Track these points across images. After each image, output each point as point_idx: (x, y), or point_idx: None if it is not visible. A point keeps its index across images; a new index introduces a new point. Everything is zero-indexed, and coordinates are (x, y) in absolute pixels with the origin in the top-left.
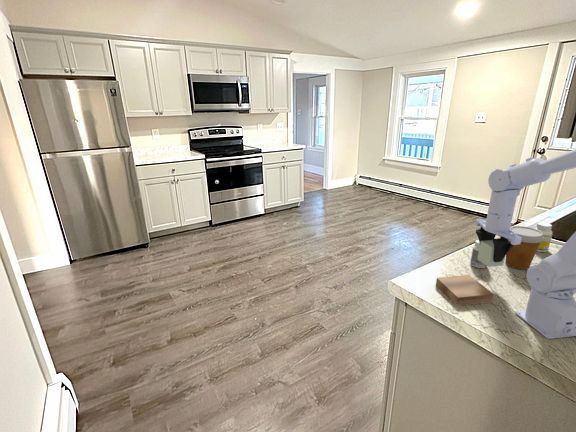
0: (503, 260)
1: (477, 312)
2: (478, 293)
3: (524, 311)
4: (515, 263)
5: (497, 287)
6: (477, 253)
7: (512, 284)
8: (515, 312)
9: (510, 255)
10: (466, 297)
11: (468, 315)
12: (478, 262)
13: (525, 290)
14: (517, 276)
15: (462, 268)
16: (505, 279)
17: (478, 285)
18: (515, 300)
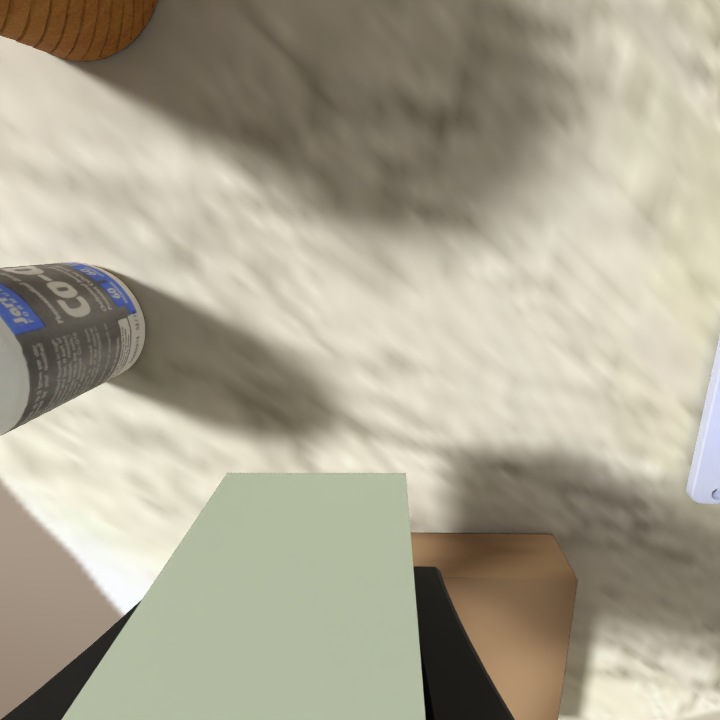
0: (407, 523)
1: (610, 649)
2: (545, 652)
3: (713, 453)
4: (107, 12)
5: (412, 398)
6: (30, 419)
7: (392, 266)
8: (695, 501)
9: (2, 16)
10: (556, 716)
11: (617, 694)
12: (109, 372)
13: (484, 231)
14: (281, 126)
15: (149, 460)
16: (318, 265)
17: (461, 601)
18: (573, 394)
